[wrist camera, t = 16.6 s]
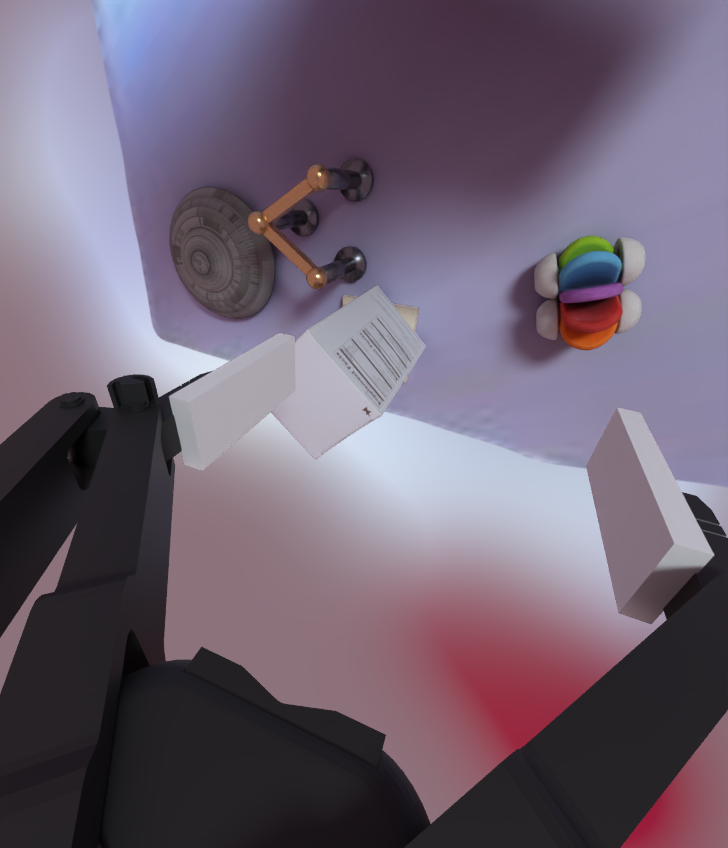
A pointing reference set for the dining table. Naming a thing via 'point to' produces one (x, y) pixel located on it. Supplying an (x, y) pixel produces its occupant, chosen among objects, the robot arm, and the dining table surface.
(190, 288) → the flying saucer
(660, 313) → the dining table surface
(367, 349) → the supplement box
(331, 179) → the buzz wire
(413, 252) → the dining table surface
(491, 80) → the dining table surface
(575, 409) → the dining table surface
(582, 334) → the rainbow disc toy
